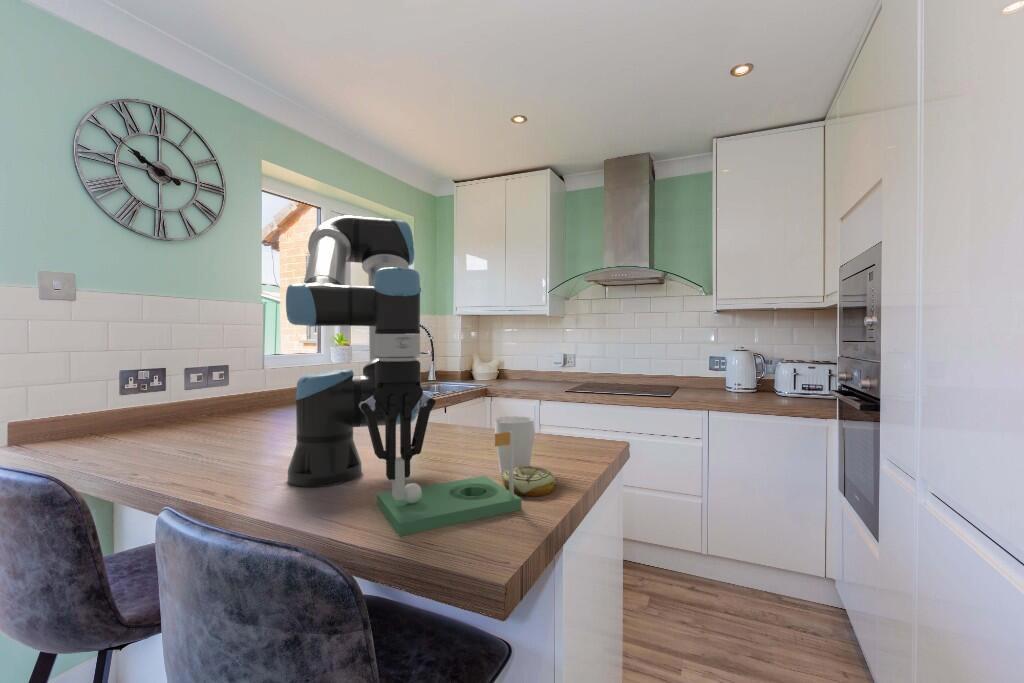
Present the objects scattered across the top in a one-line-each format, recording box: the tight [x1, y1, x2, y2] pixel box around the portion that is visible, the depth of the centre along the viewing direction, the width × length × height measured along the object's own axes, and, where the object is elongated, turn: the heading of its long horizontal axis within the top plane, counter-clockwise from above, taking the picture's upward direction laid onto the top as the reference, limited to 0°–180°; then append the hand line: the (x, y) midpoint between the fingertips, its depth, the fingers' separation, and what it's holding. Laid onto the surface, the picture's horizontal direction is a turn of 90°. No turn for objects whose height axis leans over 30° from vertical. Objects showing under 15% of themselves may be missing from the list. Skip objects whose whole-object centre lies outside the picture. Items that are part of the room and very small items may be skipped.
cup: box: [494, 415, 535, 475], centre depth 103 cm, size 9×9×12 cm
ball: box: [403, 482, 422, 504], centre depth 79 cm, size 3×3×3 cm
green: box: [376, 431, 522, 537], centre depth 82 cm, size 15×22×14 cm
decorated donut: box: [501, 465, 556, 497], centre depth 92 cm, size 10×11×4 cm
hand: (398, 497), depth 77 cm, fingers closed
